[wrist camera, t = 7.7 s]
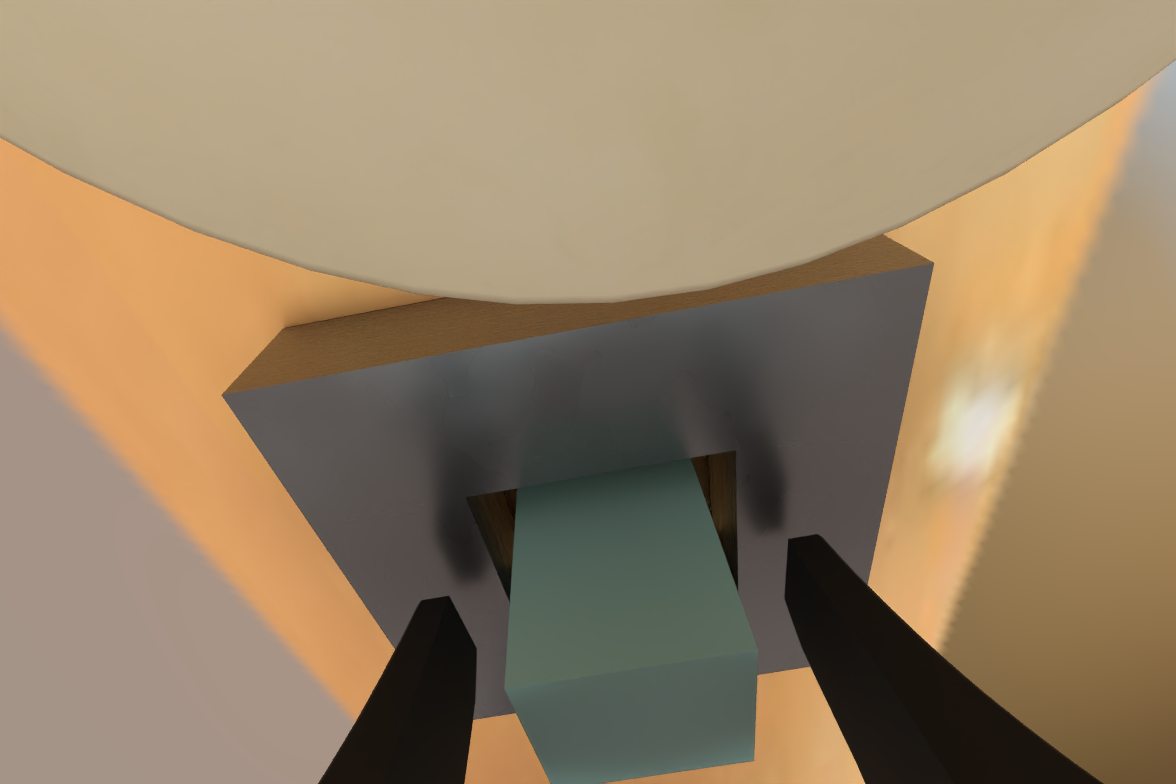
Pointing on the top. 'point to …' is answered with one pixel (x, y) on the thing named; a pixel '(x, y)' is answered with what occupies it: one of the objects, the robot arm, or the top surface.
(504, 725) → the top surface
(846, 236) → the candle
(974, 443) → the top surface
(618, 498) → the peg block
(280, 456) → the square hole plate
